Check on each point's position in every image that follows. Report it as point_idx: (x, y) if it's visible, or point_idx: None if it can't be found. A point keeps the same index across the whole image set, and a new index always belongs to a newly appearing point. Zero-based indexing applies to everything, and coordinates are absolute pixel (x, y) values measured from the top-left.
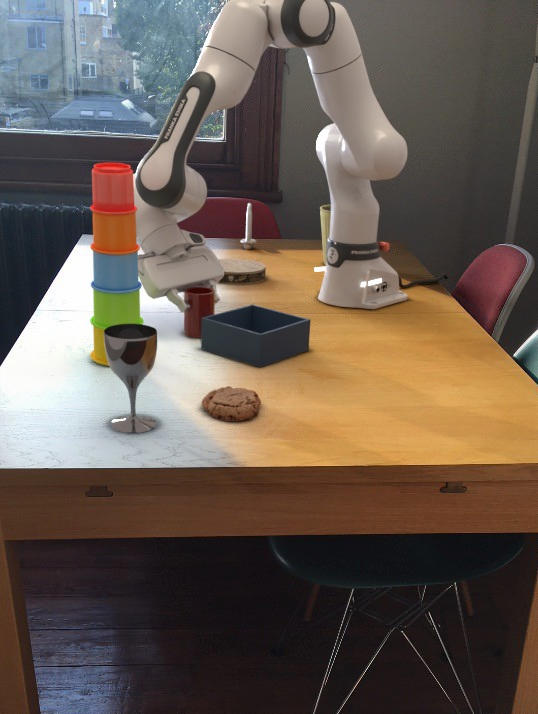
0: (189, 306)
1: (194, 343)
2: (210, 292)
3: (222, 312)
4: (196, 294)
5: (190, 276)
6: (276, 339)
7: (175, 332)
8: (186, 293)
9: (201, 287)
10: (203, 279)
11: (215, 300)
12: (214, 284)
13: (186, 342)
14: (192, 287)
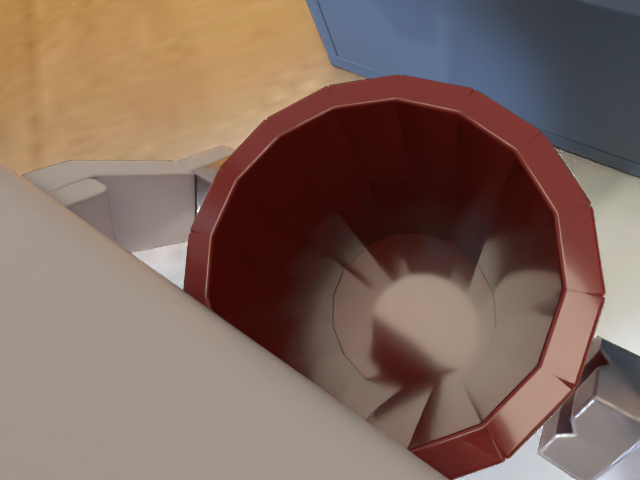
0: (612, 344)
1: (626, 293)
2: (279, 166)
3: (621, 2)
4: (595, 241)
5: (200, 434)
6: None
7: None
8: (541, 420)
9: (206, 273)
10: (105, 239)
11: None
12: (81, 169)
13: (628, 350)
14: None
